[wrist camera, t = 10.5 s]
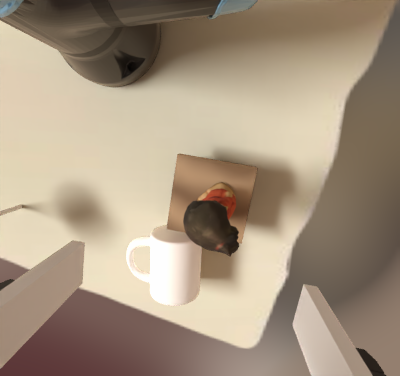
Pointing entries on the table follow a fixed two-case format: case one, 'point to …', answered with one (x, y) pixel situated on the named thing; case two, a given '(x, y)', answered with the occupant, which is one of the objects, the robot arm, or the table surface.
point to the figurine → (213, 220)
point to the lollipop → (10, 209)
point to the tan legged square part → (204, 179)
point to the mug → (169, 266)
